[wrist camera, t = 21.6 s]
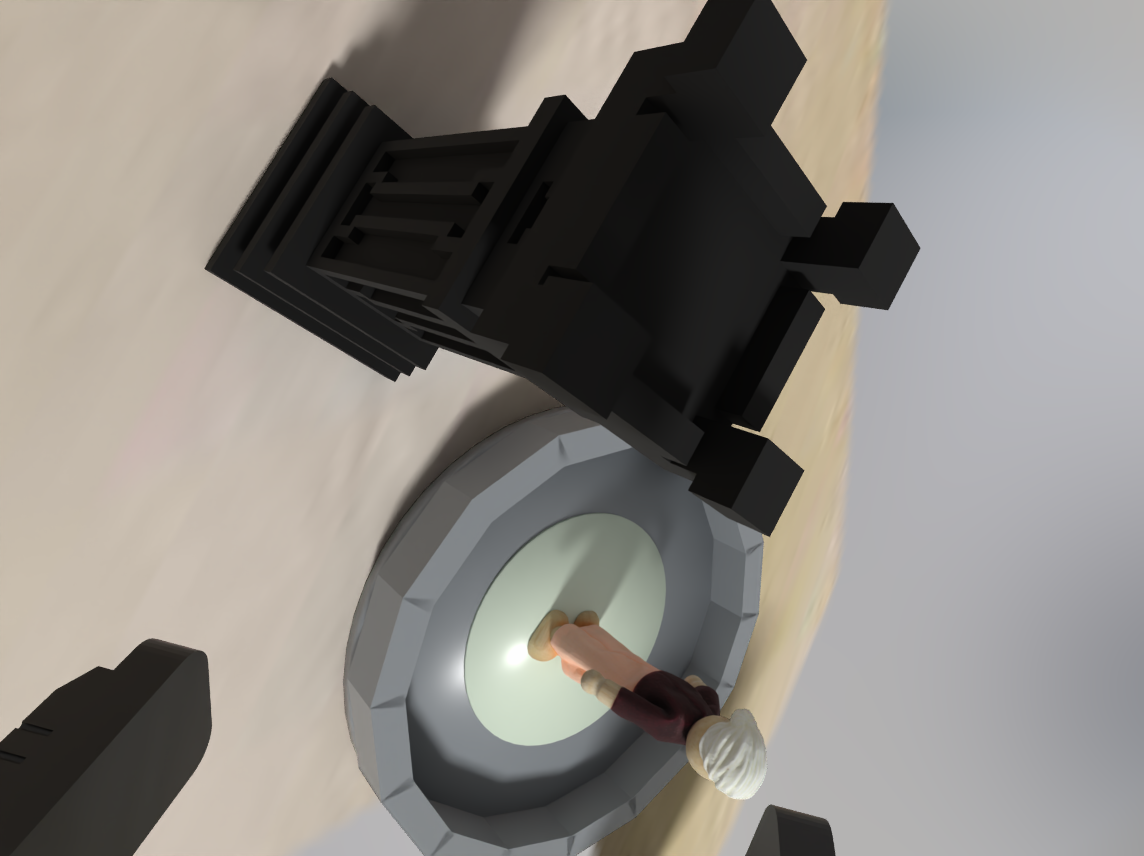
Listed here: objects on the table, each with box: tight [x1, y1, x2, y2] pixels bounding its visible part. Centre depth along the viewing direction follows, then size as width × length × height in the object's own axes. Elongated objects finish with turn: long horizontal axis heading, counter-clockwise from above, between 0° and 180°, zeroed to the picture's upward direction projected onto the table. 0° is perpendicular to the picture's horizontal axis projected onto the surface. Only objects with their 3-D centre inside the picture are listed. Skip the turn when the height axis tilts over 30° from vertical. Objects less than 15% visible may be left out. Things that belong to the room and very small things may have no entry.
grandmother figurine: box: [527, 610, 767, 799], centre depth 35 cm, size 8×4×13 cm, turn 79°
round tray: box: [343, 406, 764, 856], centre depth 40 cm, size 24×24×4 cm
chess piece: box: [205, 0, 920, 537], centre depth 22 cm, size 8×8×20 cm
